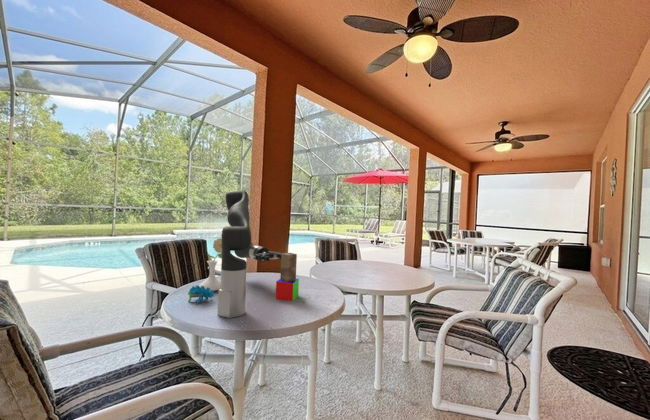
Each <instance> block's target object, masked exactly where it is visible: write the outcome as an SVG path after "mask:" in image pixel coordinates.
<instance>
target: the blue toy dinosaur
mask: <svg viewBox="0 0 650 420" xmlns="http://www.w3.org/2000/svg"><path fill="white" fill-rule="evenodd" d="M199 286H200V285H195V286H194V285H193V286H191V288H190V289H189V290H188V292H187V295H188V297H189V299H188V303H191V300H192V298H198V299H197V300H196V304H200V303H201V301H202V299H206V300H207V299H212V298H213V297H214V296H215V293H214V292H215V291H213V290H211V291H209V290H210V288H206V289H205V288H204V286H201V288H200V287H199Z"/></svg>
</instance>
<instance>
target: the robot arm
mask: <svg viewBox="0 0 650 420" xmlns="http://www.w3.org/2000/svg"><path fill="white" fill-rule="evenodd" d="M249 203H250V197H249V195H248V192H247V191H246V190H243V189H242V190H232V191H228V192H226V193H225V204H226V208H227V222H228V224H229V226H224V227H223V228H222V230H221V239H222V258H221V264H220V265H221V266H220V267H221V269H220V271H221V272H220V281H221V289H220V290H217V292H218V294H217V295H218V296H217V316H220V317H223V318H227V319H232V318H237V317H241V316H243V315H245V313H246V296H247V295H246V291H247V290H246V289H247V268H248V267H247V266H248V265H247V261H246V260H245V259H248V258H250V259H252V260H254V261H258V262H261V263H263V262H264V263H265V262H270V260H277V259H279V260H281V254H282V253H283V252H280V251H270V249H269V248H268V247H265V246H260V245H256V244H253V243H252V233H251V227H250V212H249V211H250V210H249ZM232 252H234V254H235V255H234V254H232Z"/></svg>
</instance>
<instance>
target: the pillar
mask: <svg viewBox="0 0 650 420" xmlns="http://www.w3.org/2000/svg"><path fill="white" fill-rule="evenodd" d="M281 253H282V254H281V259H280V278H279V279H280V280H283V281H285V282H290V281H296V279H297V259H298V258H297V257H298V256H297V255H298V254H296V253H293V252H284V253H283V252H281Z"/></svg>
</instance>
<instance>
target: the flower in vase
mask: <svg viewBox="0 0 650 420" xmlns="http://www.w3.org/2000/svg"><path fill="white" fill-rule="evenodd" d="M212 248H213V249H214V251H215V253H217V254H216V256H213V255H210V254H207V256H208V258H212V259H213V260H210V259H209V260H207V261H206V262H207V264H208V266H209V267H208V268H209V275H208V277H207V278H206V279H205V280H203V281H202V282H201V283H200V284H199V285H198V286H199V287H200V288H201V286H204V288H205V289H206V288H210V290H209V291H211V290H213V291H214V292H216V291H217V292H218V291H219V290H220V289H221V279H219V278H217V277H216V274H215V272H216V266H217V263H218V262H219V260H216V259H217V257H218V258H219V259H222V237H219V238H216V239H214V241H213V244H212Z"/></svg>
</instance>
